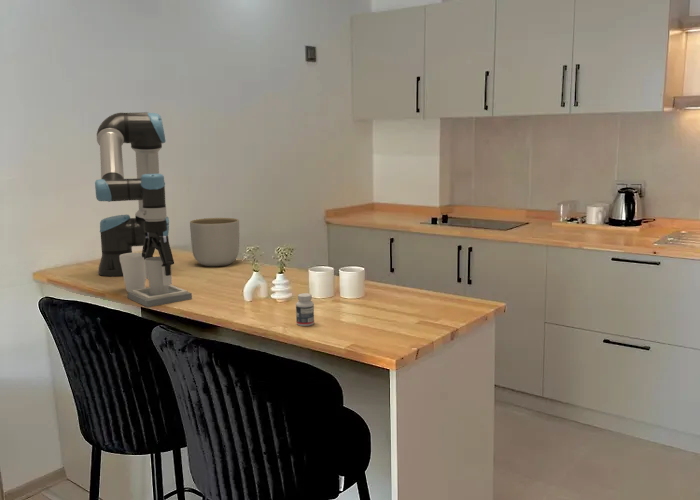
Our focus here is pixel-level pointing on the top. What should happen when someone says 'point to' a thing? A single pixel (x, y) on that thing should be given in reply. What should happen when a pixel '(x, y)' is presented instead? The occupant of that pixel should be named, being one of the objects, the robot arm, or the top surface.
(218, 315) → the top surface
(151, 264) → the cup
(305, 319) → the pill bottle
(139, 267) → the foam cup
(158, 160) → the robot arm
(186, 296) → the grey square tray
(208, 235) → the planter
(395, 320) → the top surface
